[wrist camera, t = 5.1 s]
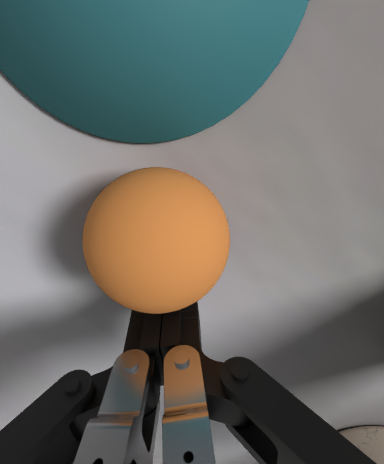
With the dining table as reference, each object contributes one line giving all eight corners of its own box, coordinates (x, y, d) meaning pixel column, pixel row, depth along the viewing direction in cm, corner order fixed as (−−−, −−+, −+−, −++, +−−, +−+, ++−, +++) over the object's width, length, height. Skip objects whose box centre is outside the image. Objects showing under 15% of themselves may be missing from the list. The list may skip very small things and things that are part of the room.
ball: (227, 234, 15) (218, 131, 11) (241, 336, 11) (233, 227, 7) (122, 245, 16) (81, 150, 12) (99, 346, 12) (25, 250, 8)
